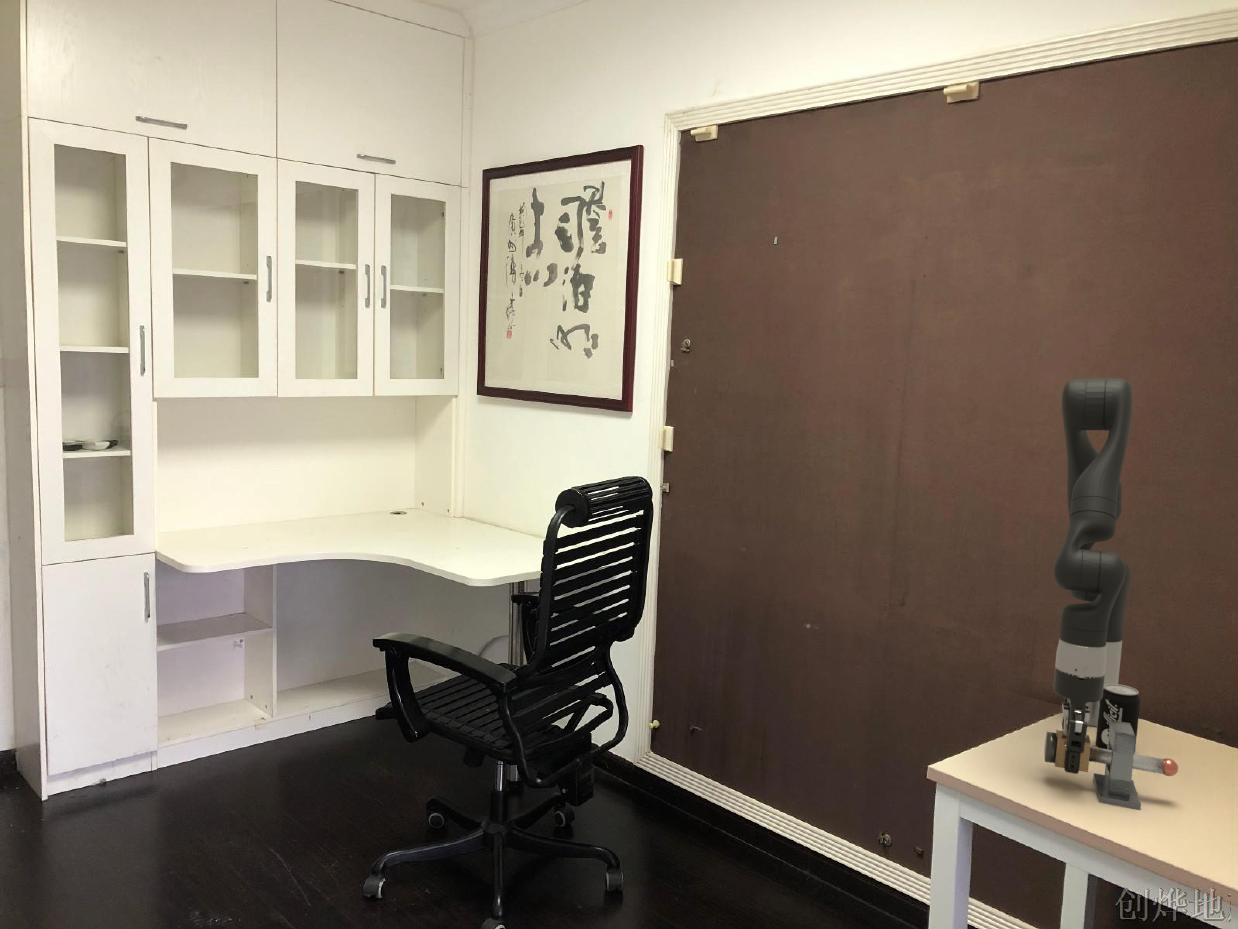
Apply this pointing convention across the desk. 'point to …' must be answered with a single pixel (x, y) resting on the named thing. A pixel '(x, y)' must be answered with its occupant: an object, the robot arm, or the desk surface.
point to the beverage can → (1117, 710)
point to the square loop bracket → (1119, 769)
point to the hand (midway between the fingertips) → (1070, 766)
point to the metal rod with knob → (1101, 756)
